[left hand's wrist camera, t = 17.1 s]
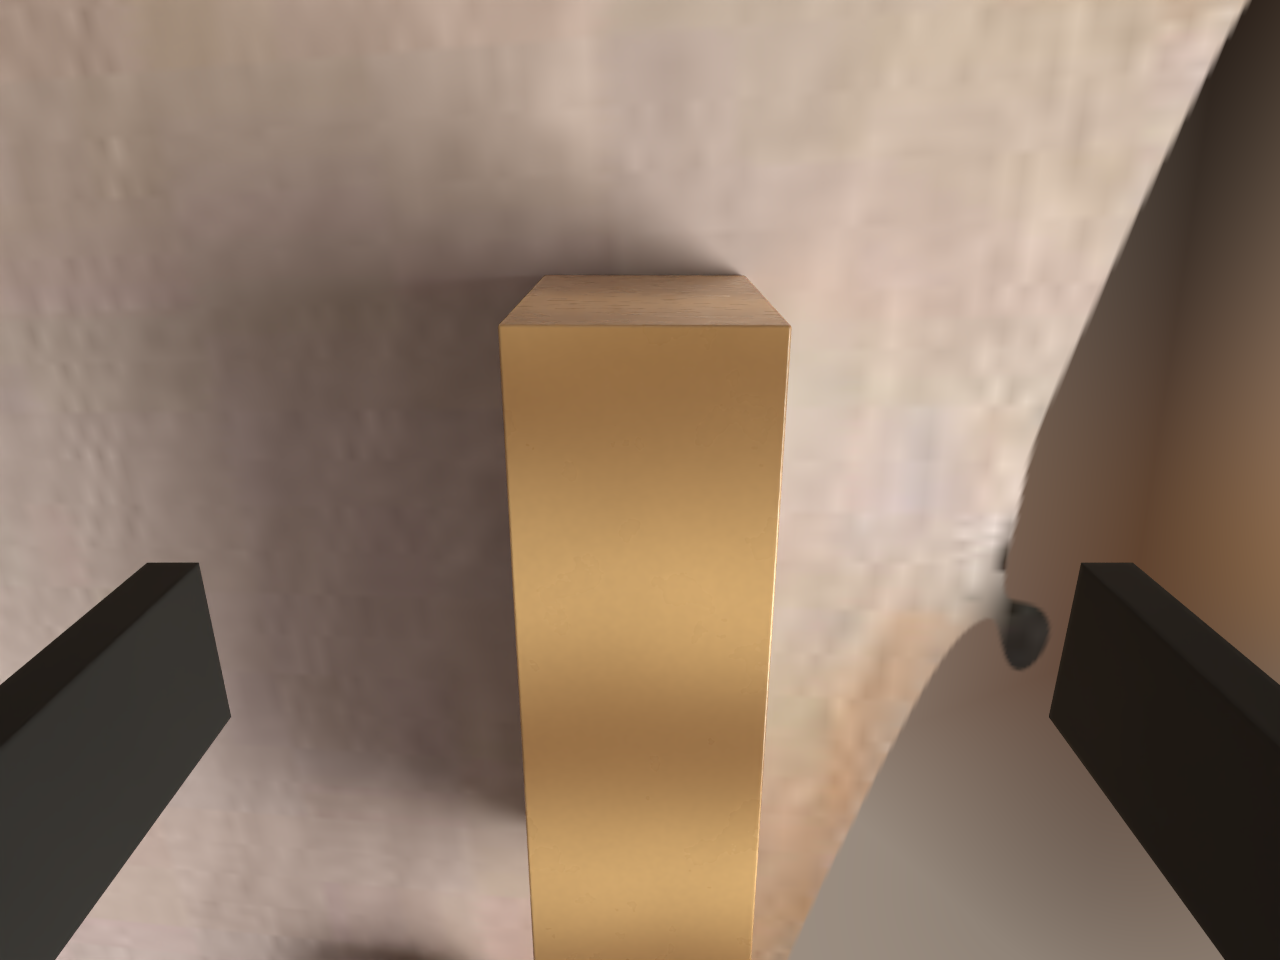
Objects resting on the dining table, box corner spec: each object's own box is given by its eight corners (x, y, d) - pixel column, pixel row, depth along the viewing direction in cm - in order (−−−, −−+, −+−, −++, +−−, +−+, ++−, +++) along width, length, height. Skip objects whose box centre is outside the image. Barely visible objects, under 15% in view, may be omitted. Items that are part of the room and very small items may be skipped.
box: (543, 275, 31) (497, 324, 21) (745, 275, 31) (792, 325, 21) (564, 829, 40) (538, 1044, 30) (721, 830, 40) (745, 1045, 30)
